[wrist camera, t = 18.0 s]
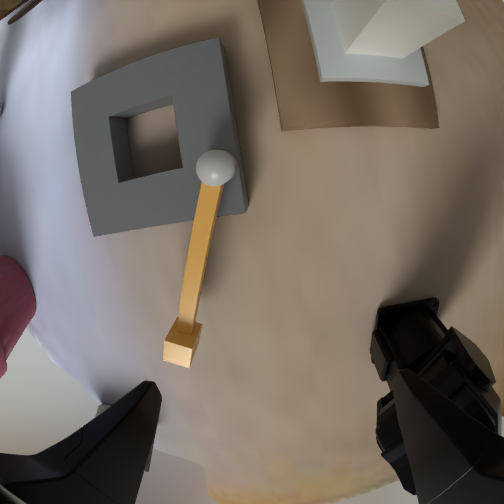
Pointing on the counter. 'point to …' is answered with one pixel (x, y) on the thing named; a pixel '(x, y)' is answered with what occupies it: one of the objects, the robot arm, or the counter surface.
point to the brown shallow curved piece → (3, 3)
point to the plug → (376, 37)
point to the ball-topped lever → (198, 255)
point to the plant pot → (13, 306)
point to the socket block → (188, 128)
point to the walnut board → (333, 83)
